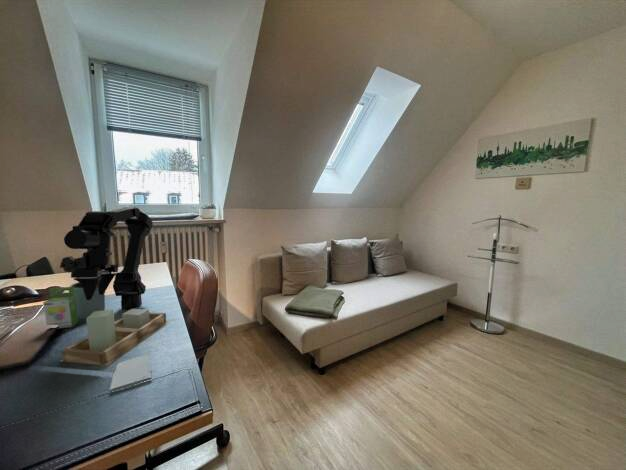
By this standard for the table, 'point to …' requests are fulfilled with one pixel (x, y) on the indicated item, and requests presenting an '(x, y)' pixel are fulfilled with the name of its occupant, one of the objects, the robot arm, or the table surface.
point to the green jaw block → (101, 330)
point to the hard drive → (131, 373)
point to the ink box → (61, 308)
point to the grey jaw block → (135, 318)
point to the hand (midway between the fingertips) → (95, 297)
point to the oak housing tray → (124, 342)
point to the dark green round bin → (87, 301)
